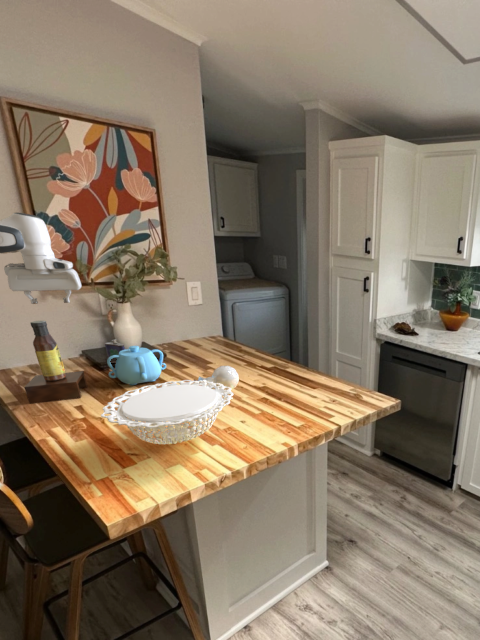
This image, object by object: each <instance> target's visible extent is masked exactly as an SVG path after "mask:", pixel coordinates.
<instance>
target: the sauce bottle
mask: <svg viewBox="0 0 480 640" xmlns="http://www.w3.org/2000/svg"><path fill="white" fill-rule="evenodd" d="M29 323H30V327H31V328H32V331H33V335H34V338H33V341H32V345H33V349H34V353H35V356H36V359H37V362H38V365H39V368H40V372H41V375H43V376H44V379H45V380H46V381H55V380H60V379H63V378H65V377H66V374H65V373H66V368H65V365H64V362H63V359H62V356H61V352H60V349H59V345H58V342H57V341H56V340H55V339H54V337H53V336H52V335H51V334H50V331H49V329H48V323H47V321H46V320H34V321H30V322H29Z"/></svg>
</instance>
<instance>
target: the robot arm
mask: <svg viewBox="0 0 480 640" xmlns="http://www.w3.org/2000/svg"><path fill="white" fill-rule="evenodd" d="M19 252H20V255H21V257H22V261H23V262H22V263H13V262H12V263H10V262H9V263H7V264H6V265H4V266H3V271H4V274H5V275H6V276H7V284H8V288H9V289H10V290H11V291H12V292H23V293H24V295H25V296H26V297H27V298H28V299H29V301H30V304H32V305H36V304H37V305H38V304H39V301H38V298H37V297H33V295H32V292H41V291H42V292H44V291H45V292H46V291H47V292H49V291H52V292H54V291H64V294H66V296H64V297H62V300H63V303H64V304H70V302H71V300H70V297H71V295H72V291H79V290H81V289H82V286H83V285H82V282H81V279H80V276H79V274H78V271H76V270H75V269H74V268H73V267H74V264H73V262H72V261H68V260H66V259H65V260H64V259H60V258H57V257H55V253H54V251H53V249H52V240H51V236H50V232H49V229H48V227H47V225H46V222H45V221H44V219H43V218H41V217H40V216H38V215H34V214H29V213H24V212H13V213H12V214H11V215H9V216H7V217H5V218H3V219H0V254H3V255H5V254H14V253H19Z"/></svg>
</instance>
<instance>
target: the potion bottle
mask: <svg viewBox="0 0 480 640" xmlns="http://www.w3.org/2000/svg"><path fill="white" fill-rule="evenodd" d="M200 380H203V381H207V382H213V383H220V384H223V385H224V386H226V387H230V388H231V391H232V390H234V389H236V388H237V386H238V385H239V382H240V378H239V373H238V372H237V370H236V368H234V367H232V366H230V365H220V366H218V367H216V368H215V369H214V370H213V372H212V374H211V376H208V377H202V376H198V379H193V381H200ZM194 383H195V382H194ZM199 383H202V382H199ZM199 386H202V385H199ZM208 386H209V384H206V387H208ZM216 386H220V385H218V384H216ZM211 389H215V388H214V387H212V388H211ZM228 389H229V388H225V389H224V390H228Z"/></svg>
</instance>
